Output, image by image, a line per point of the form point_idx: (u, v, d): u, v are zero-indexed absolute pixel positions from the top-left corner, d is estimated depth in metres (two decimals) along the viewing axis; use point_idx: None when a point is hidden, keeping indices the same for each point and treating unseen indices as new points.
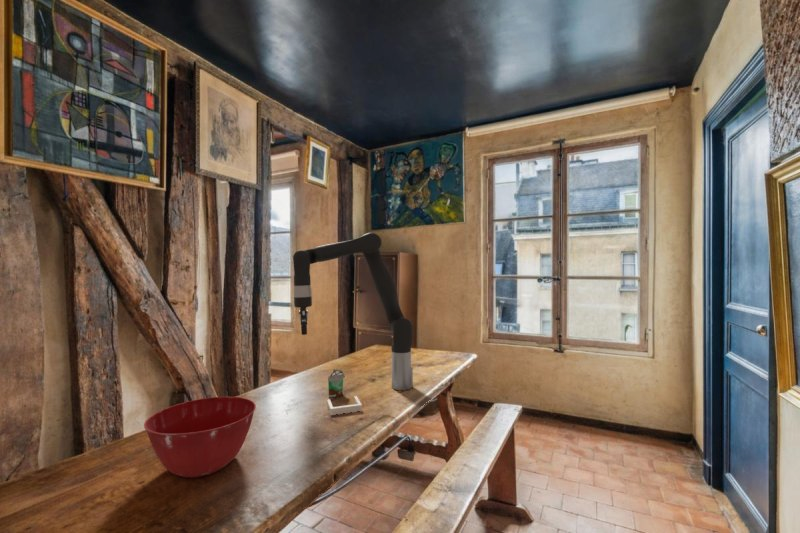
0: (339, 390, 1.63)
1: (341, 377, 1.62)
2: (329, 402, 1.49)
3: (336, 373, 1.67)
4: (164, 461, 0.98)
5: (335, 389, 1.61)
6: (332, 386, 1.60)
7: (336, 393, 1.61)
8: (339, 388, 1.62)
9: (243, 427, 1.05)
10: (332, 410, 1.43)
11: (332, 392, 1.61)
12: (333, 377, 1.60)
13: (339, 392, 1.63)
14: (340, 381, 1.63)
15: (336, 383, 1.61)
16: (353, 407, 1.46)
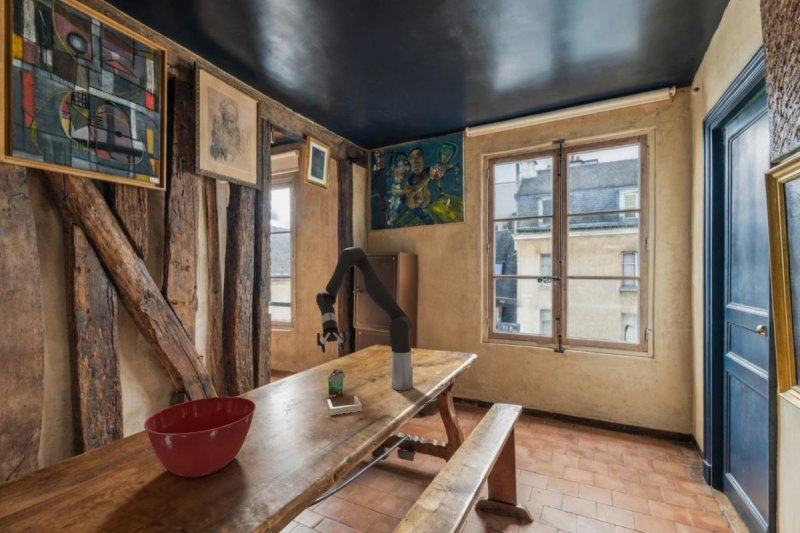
0: (339, 390, 1.63)
1: (341, 377, 1.62)
2: (329, 402, 1.49)
3: (336, 373, 1.67)
4: (164, 461, 0.98)
5: (335, 389, 1.61)
6: (332, 386, 1.60)
7: (336, 393, 1.61)
8: (339, 388, 1.62)
9: (243, 427, 1.05)
10: (332, 410, 1.43)
11: (332, 392, 1.61)
12: (333, 377, 1.60)
13: (339, 392, 1.63)
14: (340, 381, 1.63)
15: (336, 383, 1.61)
16: (353, 407, 1.46)
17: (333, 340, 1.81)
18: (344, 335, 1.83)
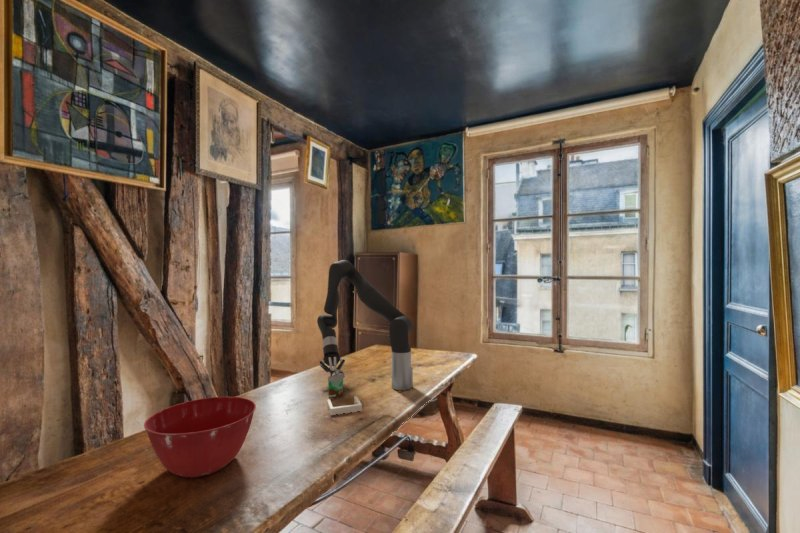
0: (339, 390, 1.63)
1: (341, 377, 1.62)
2: (329, 402, 1.49)
3: (336, 373, 1.67)
4: (164, 461, 0.98)
5: (335, 389, 1.61)
6: (332, 386, 1.60)
7: (336, 393, 1.61)
8: (339, 388, 1.62)
9: (243, 427, 1.05)
10: (332, 410, 1.43)
11: (332, 392, 1.61)
12: (333, 377, 1.60)
13: (339, 392, 1.63)
14: (340, 381, 1.63)
15: (336, 383, 1.61)
16: (353, 407, 1.46)
17: None
18: (341, 363, 1.81)
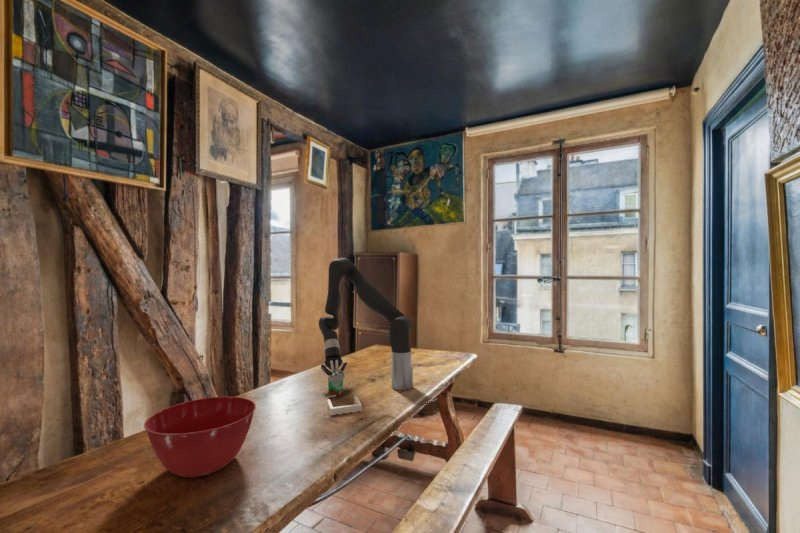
0: (339, 390, 1.62)
1: (341, 377, 1.62)
2: (329, 402, 1.49)
3: (336, 373, 1.67)
4: (164, 461, 0.98)
5: (335, 389, 1.61)
6: (332, 386, 1.60)
7: (336, 393, 1.61)
8: (339, 388, 1.62)
9: (243, 427, 1.05)
10: (332, 410, 1.43)
11: (332, 392, 1.60)
12: (333, 377, 1.60)
13: (339, 392, 1.62)
14: (340, 381, 1.62)
15: (336, 384, 1.61)
16: (353, 407, 1.46)
17: None
18: (343, 366, 1.76)
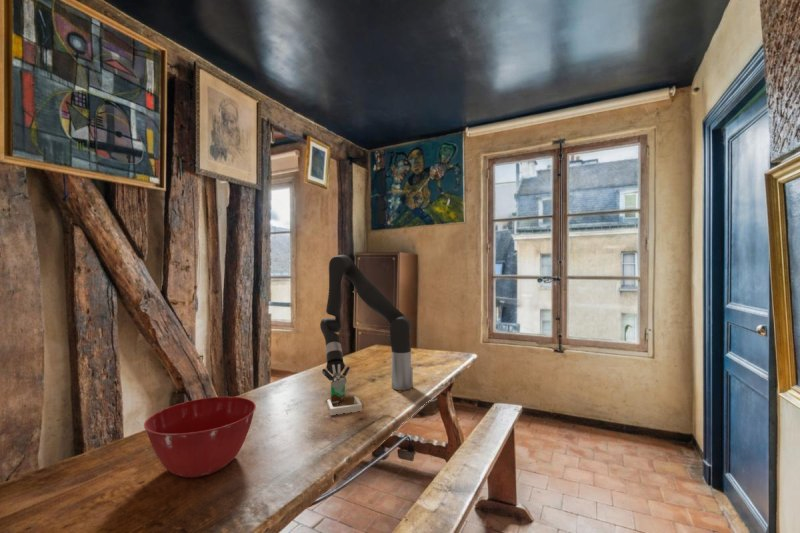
0: (342, 396, 1.55)
1: (344, 382, 1.55)
2: (329, 402, 1.49)
3: (337, 378, 1.59)
4: (164, 461, 0.98)
5: (338, 395, 1.53)
6: (335, 392, 1.53)
7: (338, 399, 1.54)
8: (342, 394, 1.55)
9: (243, 427, 1.05)
10: (332, 410, 1.43)
11: (335, 398, 1.53)
12: (336, 382, 1.52)
13: (342, 398, 1.55)
14: (343, 386, 1.55)
15: (339, 389, 1.54)
16: (353, 407, 1.46)
17: None
18: (346, 371, 1.68)
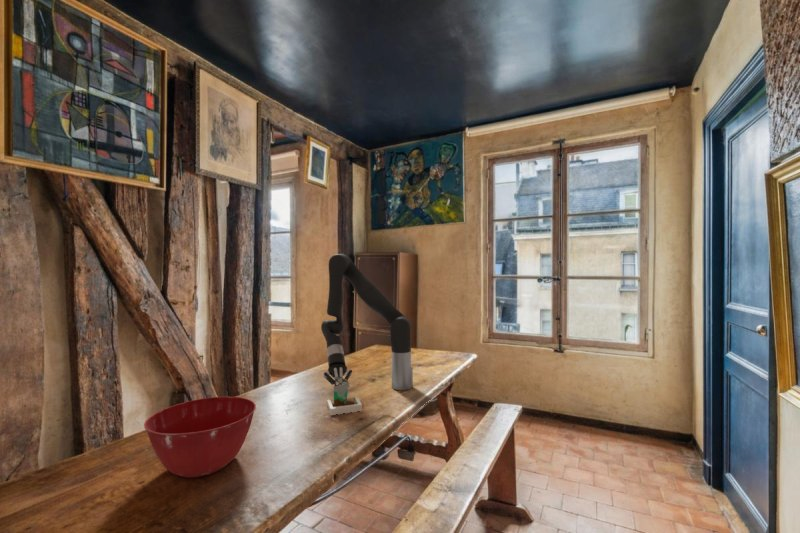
0: (345, 400, 1.50)
1: (347, 386, 1.50)
2: (329, 402, 1.49)
3: (339, 382, 1.54)
4: (164, 461, 0.98)
5: (341, 399, 1.48)
6: (338, 396, 1.47)
7: (341, 403, 1.49)
8: (344, 398, 1.50)
9: (243, 427, 1.05)
10: (332, 410, 1.43)
11: (338, 403, 1.48)
12: (339, 387, 1.47)
13: (344, 402, 1.50)
14: (345, 390, 1.50)
15: (342, 393, 1.48)
16: (353, 407, 1.46)
17: None
18: (348, 374, 1.63)
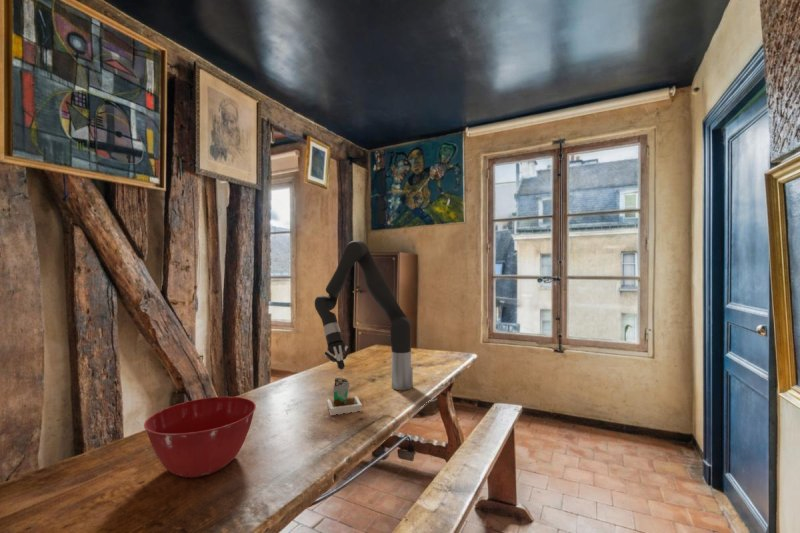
0: (345, 400, 1.50)
1: (347, 386, 1.50)
2: (329, 402, 1.49)
3: (339, 382, 1.54)
4: (164, 461, 0.98)
5: (341, 400, 1.48)
6: (338, 396, 1.47)
7: (341, 404, 1.49)
8: (344, 398, 1.50)
9: (243, 427, 1.05)
10: (332, 410, 1.43)
11: (338, 403, 1.48)
12: (339, 387, 1.47)
13: (344, 403, 1.50)
14: (345, 391, 1.50)
15: (342, 393, 1.48)
16: (353, 407, 1.46)
17: None
18: (347, 351, 1.74)
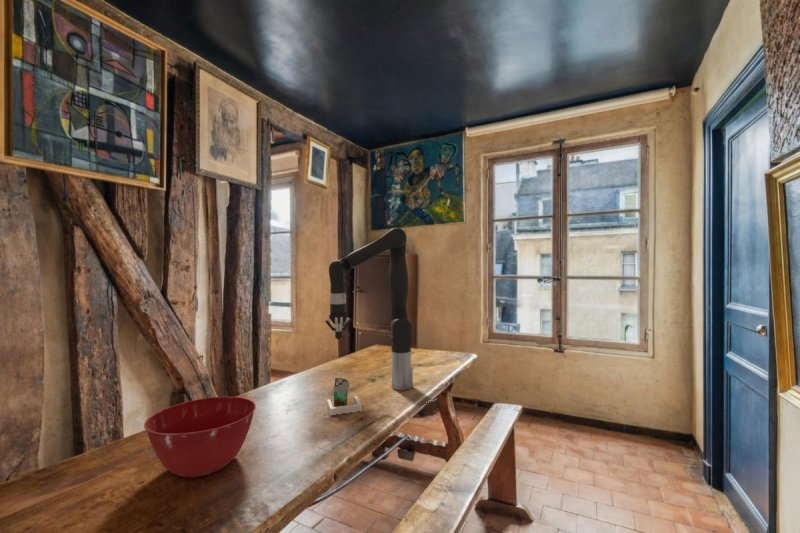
0: (345, 400, 1.50)
1: (347, 386, 1.50)
2: (329, 402, 1.49)
3: (339, 382, 1.54)
4: (164, 461, 0.98)
5: (341, 400, 1.48)
6: (338, 396, 1.47)
7: (341, 404, 1.49)
8: (344, 398, 1.50)
9: (243, 427, 1.05)
10: (332, 410, 1.43)
11: (338, 403, 1.48)
12: (339, 387, 1.47)
13: (344, 403, 1.50)
14: (345, 391, 1.50)
15: (342, 393, 1.48)
16: (353, 407, 1.46)
17: None
18: (347, 323, 1.76)
